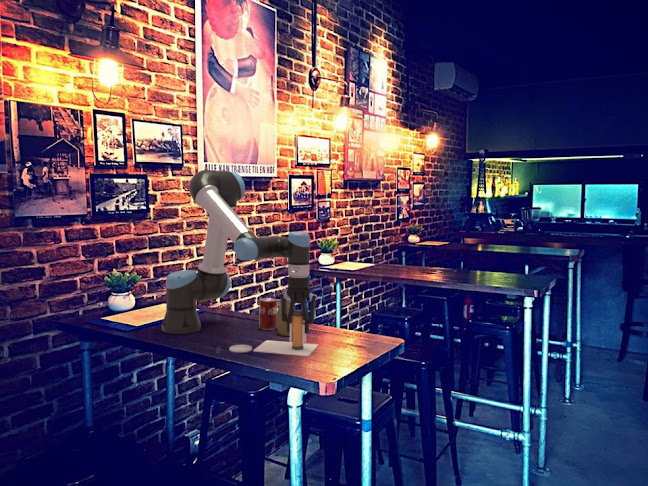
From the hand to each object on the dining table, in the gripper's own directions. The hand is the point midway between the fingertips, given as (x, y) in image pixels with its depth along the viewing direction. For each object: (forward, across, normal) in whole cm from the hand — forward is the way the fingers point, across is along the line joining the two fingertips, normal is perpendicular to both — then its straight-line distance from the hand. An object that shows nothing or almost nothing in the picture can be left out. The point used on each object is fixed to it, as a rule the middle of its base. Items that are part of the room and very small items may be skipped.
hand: (297, 341), depth 190 cm
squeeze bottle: (+3, -10, +19) cm, 22 cm away
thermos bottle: (+3, 0, 0) cm, 3 cm away
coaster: (+3, -19, -6) cm, 20 cm away
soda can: (+3, -20, +26) cm, 33 cm away
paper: (+3, -4, 0) cm, 5 cm away
